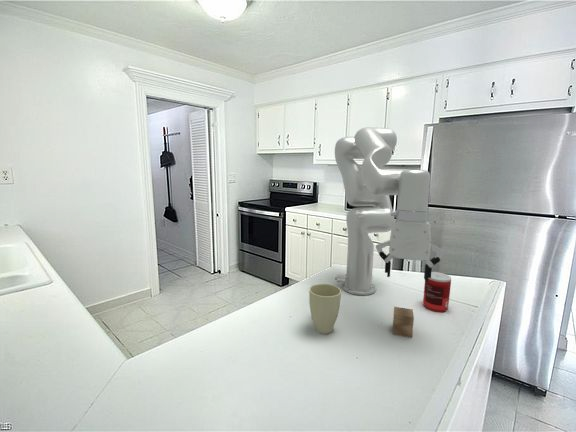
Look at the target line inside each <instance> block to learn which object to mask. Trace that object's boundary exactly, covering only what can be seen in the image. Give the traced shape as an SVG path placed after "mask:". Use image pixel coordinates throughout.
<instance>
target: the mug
mask: <svg viewBox="0 0 576 432" xmlns="http://www.w3.org/2000/svg"><path fill="white" fill-rule="evenodd" d="M308 293H309V311H310V315H311V319H312V323H313V326H314V328H315V331H316V332H317V333H319V334H323V335H327V334H330V333H332V331H333V330H334V327H335V325H336V323H337V322H336V321H337V319H338V317H339V313H340V307H341V297H342V295H341V294H342V290H341V288H340V287H338V286H336V285H333V284H330V283H317V284H313V285H310V286H309V289H308Z"/></svg>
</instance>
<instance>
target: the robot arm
mask: <svg viewBox="0 0 576 432" xmlns="http://www.w3.org/2000/svg"><path fill="white" fill-rule="evenodd" d="M397 140H398V137H397V133H396V132H395V131H394V130H393V129H392V128H389V127H377V126H376V127H370V126H369V127H368V126H366V127H363V128H360V129H359V130H357V131H356V133H355V134H354V136H344V137H341V138H339V139H338V140H337V141H336V142H335V145H334V159H335V163H336V166H337V168H338V170H339V172H340V174H341V178H342V183H343V188H344V189H343V190H344V195H345V198H346V202H347V204H349V206H352V207H353V208H351V209H349V211H348V212H347V214H346V217H345V218H346V221H345V222H346V228H347V257H346V259H347V260H346V274H344V275H339V274H335V277H334V280H336V282H338V283H341V288H342V289H343V290H344V291H345V292H347V293H349V294H352V295H357V296H368V295H373V294H374V293H375V292H376V290H377V289H376V285H374V284H373V270H374V269H373V265H374V250H375V249H376V251H377V253H378V255H379V257H380V258H381V259H382V260H383V261H384V263H385V264H384V266H385V267H384V273H386V277H387V278H390V277H391V266H392V263H391V262H392V261H391V260H393V259H394V258H395V259H398V260H400V259H403V260H409V261H411V260H412V261H421V262H422V261H424V262H425V264H424V271H423V273H424V275H423V278H424V282H425V281H426V282H428V278H431V272H433V271H432V268H434V266H435V265H437V264H438V263H439V262H441V259H442V258H443V257H444V256H445V254H446V252H445V251H444V250H443V249H441V248H439V247H438V246H436V245H434V244H432V243H431V242H432V235H431V233H432V230H431V224H430V222H429V221H428V208H429V198H430V196H429V195H430V185H431V173H430V172H429V171H428V170H424V169H409V168H407V169H406V168H383V167H384V166H387V164H388V163H389V162H390V161H391V159H392V156H393V152H392V151H394V150H395V148H396V146H397V142H398V141H397ZM355 160H363V161H362V163H361V166H360V164H359V163H358V162H356V161H355ZM390 196H397V200H396V201H397V205H396V210H393V207H392V201H391V198H390ZM395 218H396V219H395ZM388 232H390V237H389V239H388V240H386V241H382V242H381V243H378V244H376V245H374V242H373V240H372V239H371V237H370V236H369V234H373V233H374V234H375V233H388ZM374 247H375V249H374ZM386 247H388V253H387V254H386V253H385V252H384V250H383V249H384V248H386ZM431 251H432V252H434V253H436V255H435V256H434V257H432V258H430V257H431Z"/></svg>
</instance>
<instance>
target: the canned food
mask: <svg viewBox="0 0 576 432" xmlns="http://www.w3.org/2000/svg"><path fill="white" fill-rule="evenodd" d="M451 285H452V277H451V276H450V275H449V274H446V273H442V272H438V271H431V278H428V282H426V281H425V280H424V286H423V287H424V288H423V298H422V299H423V300H422V303H423V307H425V309H428V310H429V311H432V312H437V313H444V312H446V311H448V309H449V303H450V296H451Z"/></svg>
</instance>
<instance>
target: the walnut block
mask: <svg viewBox="0 0 576 432" xmlns="http://www.w3.org/2000/svg"><path fill="white" fill-rule="evenodd" d="M393 307H394V308H393V317H392V335H393V336H394V335H395V336H400V337H407V338H413V332H414V322H415V321H414V319H415V315H414V310H413V308H412V309H411V308H405V307H400V306H393Z"/></svg>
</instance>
